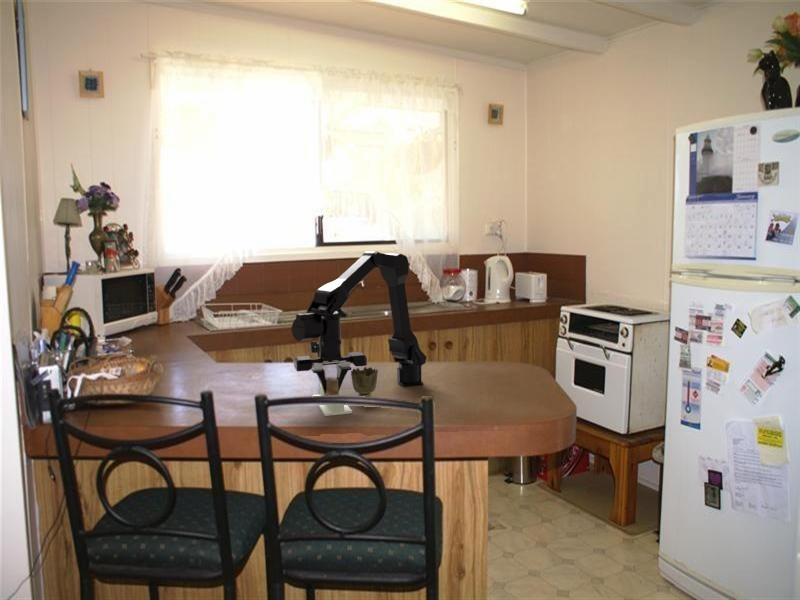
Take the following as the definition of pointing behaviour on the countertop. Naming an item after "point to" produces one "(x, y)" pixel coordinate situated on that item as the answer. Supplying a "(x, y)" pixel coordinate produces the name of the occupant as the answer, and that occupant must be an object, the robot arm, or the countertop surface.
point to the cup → (364, 381)
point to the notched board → (327, 411)
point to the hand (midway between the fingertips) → (331, 392)
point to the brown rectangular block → (331, 386)
